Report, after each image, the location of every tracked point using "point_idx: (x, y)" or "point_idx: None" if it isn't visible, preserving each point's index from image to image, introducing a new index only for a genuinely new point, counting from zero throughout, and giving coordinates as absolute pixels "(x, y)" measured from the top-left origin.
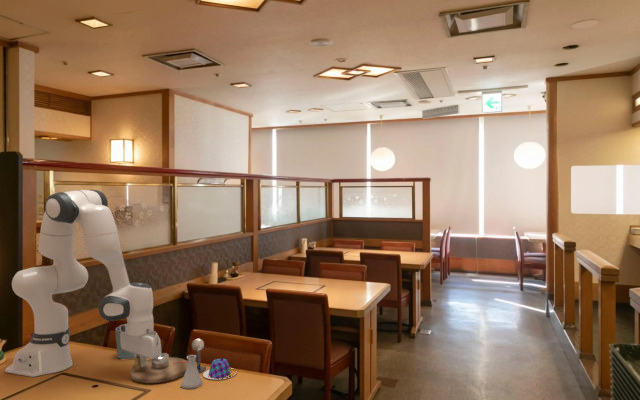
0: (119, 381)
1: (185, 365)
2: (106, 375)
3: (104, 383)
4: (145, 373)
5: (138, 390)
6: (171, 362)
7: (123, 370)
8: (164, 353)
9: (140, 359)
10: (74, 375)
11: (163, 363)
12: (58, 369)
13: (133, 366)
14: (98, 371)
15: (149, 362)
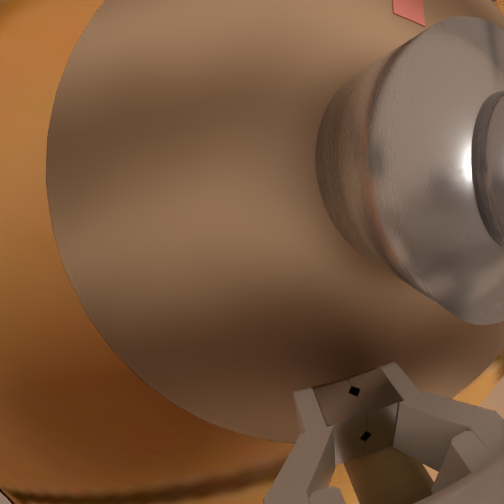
0: (271, 449)
1: (496, 16)
2: (107, 458)
3: (237, 492)
4: (446, 355)
5: (472, 382)
6: (365, 5)
7: (60, 369)
8: (465, 36)
9: (330, 443)
10: (50, 499)
11: None
12: (2, 501)
13: (177, 396)
14: (28, 447)
15: (154, 199)
